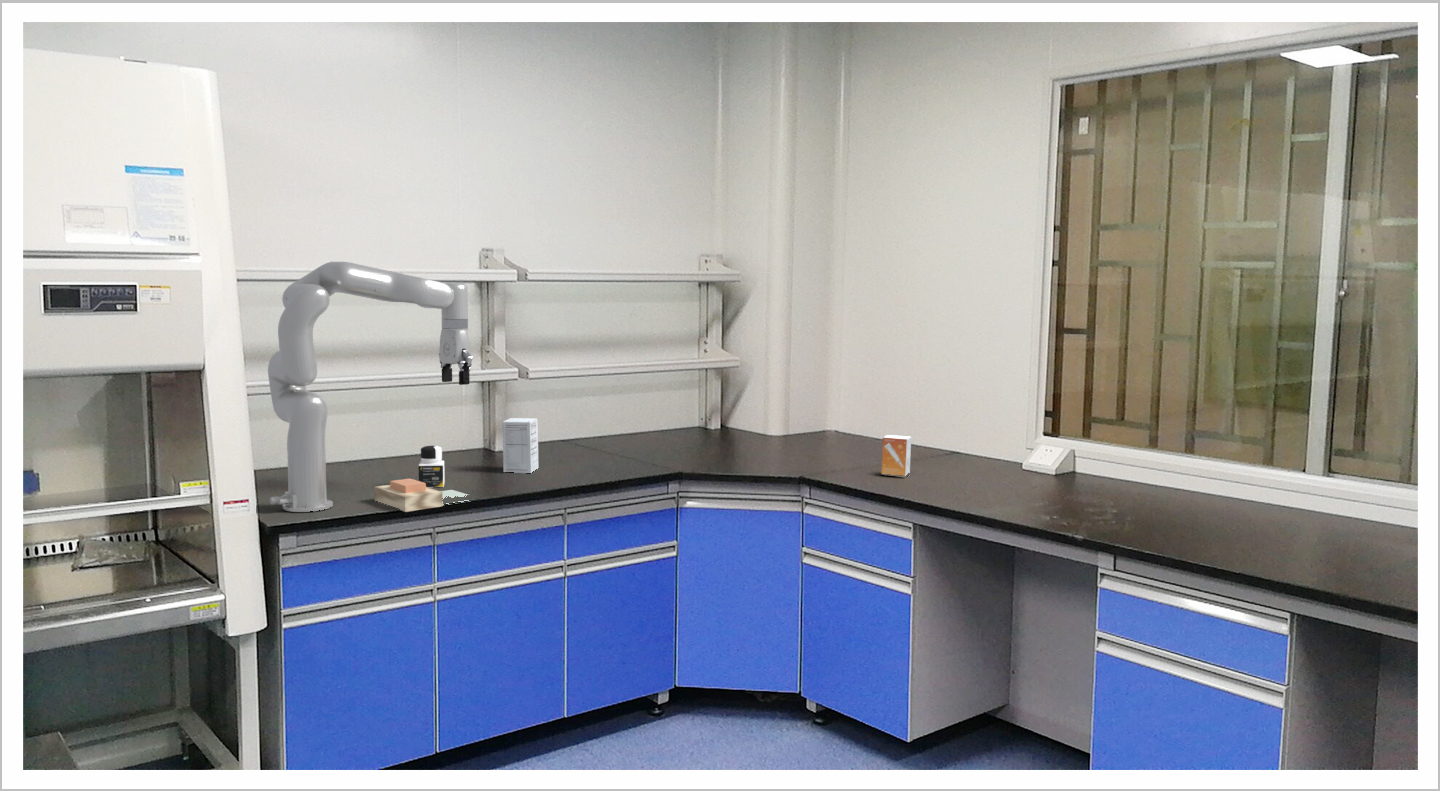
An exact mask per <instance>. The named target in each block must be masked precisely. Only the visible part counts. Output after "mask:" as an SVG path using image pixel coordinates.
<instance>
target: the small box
mask: <svg viewBox="0 0 1440 791" xmlns="http://www.w3.org/2000/svg"><path fill="white" fill-rule="evenodd" d="M881 448H882V450H881V451H882V452H881V474H891V475H903V476H906V475H907V474H908V473H911V452H912V451H911V450H912V449H911V448H912V436H907V435H895V434H886V435H885V436H883V437H882V447H881ZM881 474H880V475H881Z"/></svg>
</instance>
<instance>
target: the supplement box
mask: <svg viewBox="0 0 1440 791" xmlns="http://www.w3.org/2000/svg"><path fill="white" fill-rule="evenodd" d="M538 423H539V422H538V418H535V417H534V418H533V417H530V418H527V417H510V418H508V419H506V420H503V421H502V456H503V457H502V463H503V464H502V465H503V467H502V468H503V470H502V471H503V472H514V473H513V474H526V473H531V474H533V473H534V472H535V470H536V469H537V470H539V469H538V468H539V429H538V428H539V426H538V425H539V424H538ZM537 470H536V471H537ZM533 471H534V472H533ZM532 472H533V473H532Z"/></svg>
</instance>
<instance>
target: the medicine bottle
mask: <svg viewBox="0 0 1440 791" xmlns="http://www.w3.org/2000/svg"><path fill="white" fill-rule="evenodd" d="M442 459H443V450H442V447H441V446H438V445H426V446H422V447H421V448H420V461H419V463H418V465H417V466H418V469H417V470H418V471H417V472H418V473H417V474H418V475H417V476H418V479H417V481H420V482H423V483H426V487H428V488H432V489H434V488H433V487H443V488H444V486H445V484H446V480H445V479H446V478H445V476H446V475H445V471H446V470H445V460H442Z"/></svg>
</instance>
